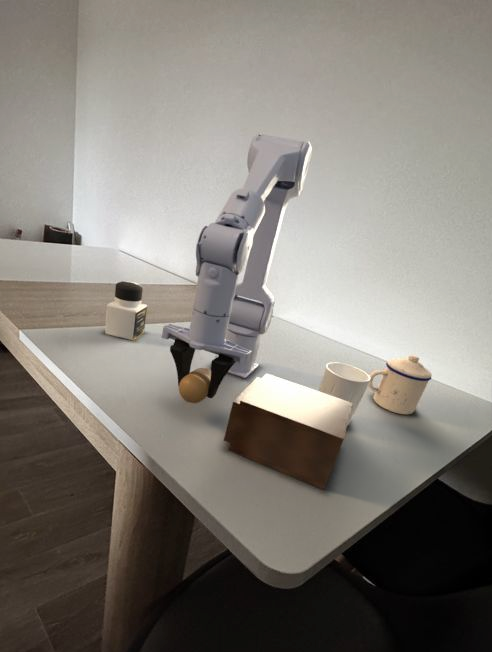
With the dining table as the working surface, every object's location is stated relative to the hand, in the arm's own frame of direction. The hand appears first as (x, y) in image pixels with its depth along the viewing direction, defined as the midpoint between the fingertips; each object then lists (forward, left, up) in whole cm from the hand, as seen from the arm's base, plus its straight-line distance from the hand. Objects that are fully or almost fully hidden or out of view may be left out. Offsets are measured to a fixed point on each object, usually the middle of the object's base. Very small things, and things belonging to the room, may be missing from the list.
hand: (196, 390), depth 65 cm
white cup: (-16, +21, -4) cm, 27 cm away
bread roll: (0, 0, -1) cm, 1 cm away
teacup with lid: (-33, +31, -4) cm, 46 cm away
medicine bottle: (-22, -30, -4) cm, 37 cm away
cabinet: (0, +16, -4) cm, 17 cm away
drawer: (0, +14, -3) cm, 15 cm away
